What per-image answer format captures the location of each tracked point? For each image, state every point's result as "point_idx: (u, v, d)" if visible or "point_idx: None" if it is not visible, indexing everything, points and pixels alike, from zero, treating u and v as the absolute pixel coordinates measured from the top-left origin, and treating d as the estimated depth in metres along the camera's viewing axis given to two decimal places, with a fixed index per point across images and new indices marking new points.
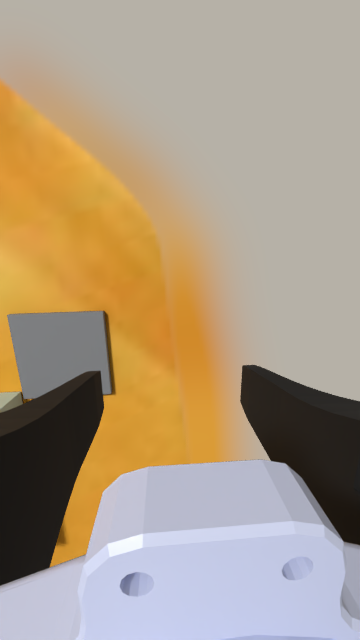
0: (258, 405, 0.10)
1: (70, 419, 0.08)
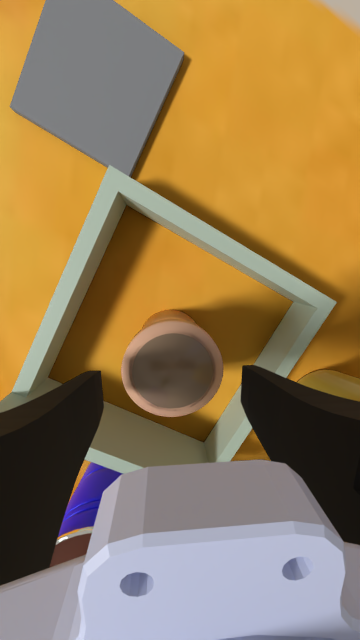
0: (258, 405, 0.10)
1: (70, 419, 0.08)
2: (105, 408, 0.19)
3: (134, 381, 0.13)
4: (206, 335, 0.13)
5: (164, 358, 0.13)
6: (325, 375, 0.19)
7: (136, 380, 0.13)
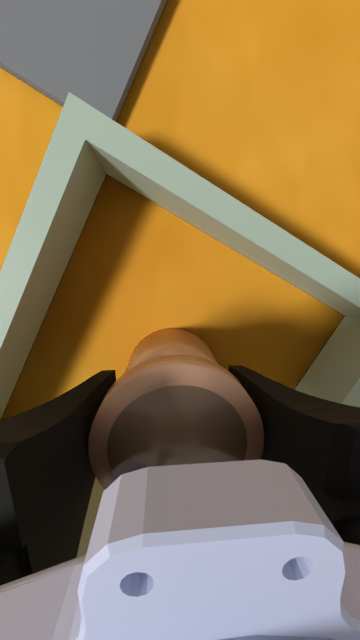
0: None
1: (90, 418, 0.08)
2: None
3: (111, 465, 0.07)
4: (237, 387, 0.07)
5: (164, 426, 0.07)
6: None
7: (115, 464, 0.07)
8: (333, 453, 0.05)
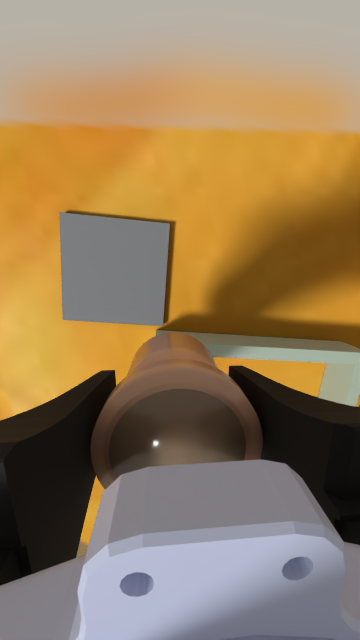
0: None
1: (90, 418, 0.08)
2: None
3: (114, 470, 0.08)
4: (233, 389, 0.07)
5: (163, 430, 0.07)
6: None
7: (118, 468, 0.08)
8: (333, 453, 0.05)
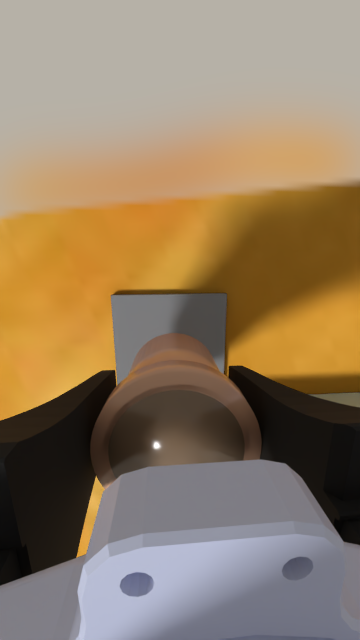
0: None
1: (90, 418, 0.08)
2: None
3: (114, 470, 0.08)
4: (230, 389, 0.07)
5: (161, 431, 0.07)
6: None
7: (117, 468, 0.08)
8: (333, 453, 0.05)
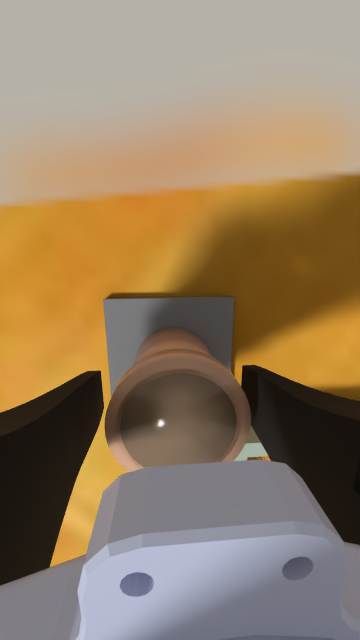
0: (258, 406, 0.10)
1: (70, 419, 0.08)
2: None
3: (125, 443, 0.09)
4: (224, 372, 0.09)
5: (166, 408, 0.09)
6: None
7: (128, 442, 0.09)
8: None
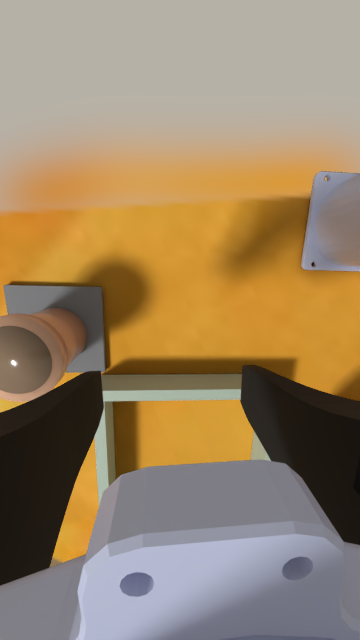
0: (258, 405, 0.10)
1: (70, 419, 0.08)
2: None
3: None
4: (39, 327, 0.14)
5: (5, 348, 0.14)
6: None
7: None
8: None
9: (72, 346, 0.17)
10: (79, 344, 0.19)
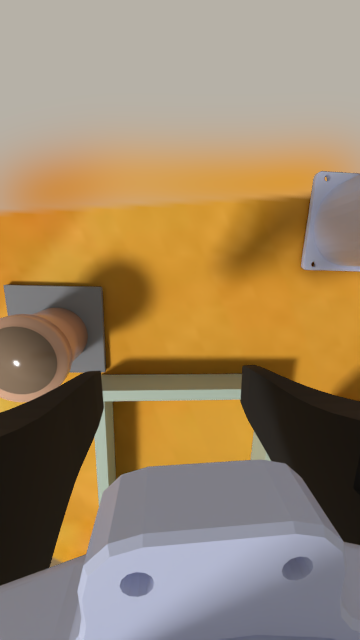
0: (258, 405, 0.10)
1: (70, 419, 0.08)
2: None
3: None
4: (45, 328, 0.14)
5: (9, 348, 0.14)
6: None
7: None
8: None
9: (75, 347, 0.17)
10: (80, 345, 0.19)
